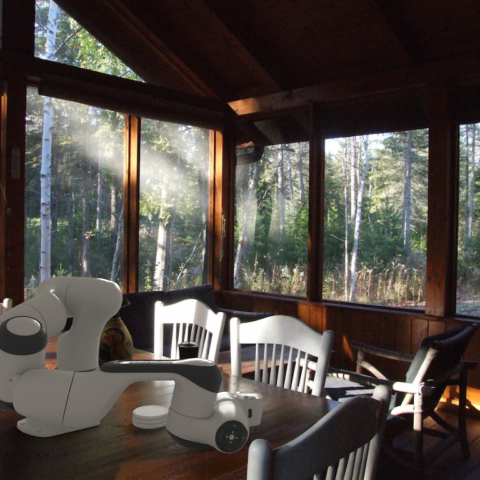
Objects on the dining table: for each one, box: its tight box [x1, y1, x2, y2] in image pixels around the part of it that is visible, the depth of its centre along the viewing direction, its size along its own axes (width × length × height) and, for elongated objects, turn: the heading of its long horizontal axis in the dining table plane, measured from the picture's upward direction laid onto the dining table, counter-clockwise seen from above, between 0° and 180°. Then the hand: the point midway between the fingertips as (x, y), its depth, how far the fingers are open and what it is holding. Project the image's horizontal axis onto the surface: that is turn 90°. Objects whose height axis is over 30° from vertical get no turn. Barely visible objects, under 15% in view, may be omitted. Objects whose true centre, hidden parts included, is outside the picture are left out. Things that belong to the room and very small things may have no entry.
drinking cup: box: [177, 325, 201, 359], centre depth 182 cm, size 8×8×20 cm
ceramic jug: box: [98, 295, 134, 368], centre depth 197 cm, size 17×15×30 cm
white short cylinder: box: [131, 404, 169, 430], centre depth 144 cm, size 10×10×4 cm
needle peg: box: [216, 364, 224, 393], centre depth 151 cm, size 3×3×14 cm
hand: (220, 394), depth 139 cm, fingers open, 8 cm apart
